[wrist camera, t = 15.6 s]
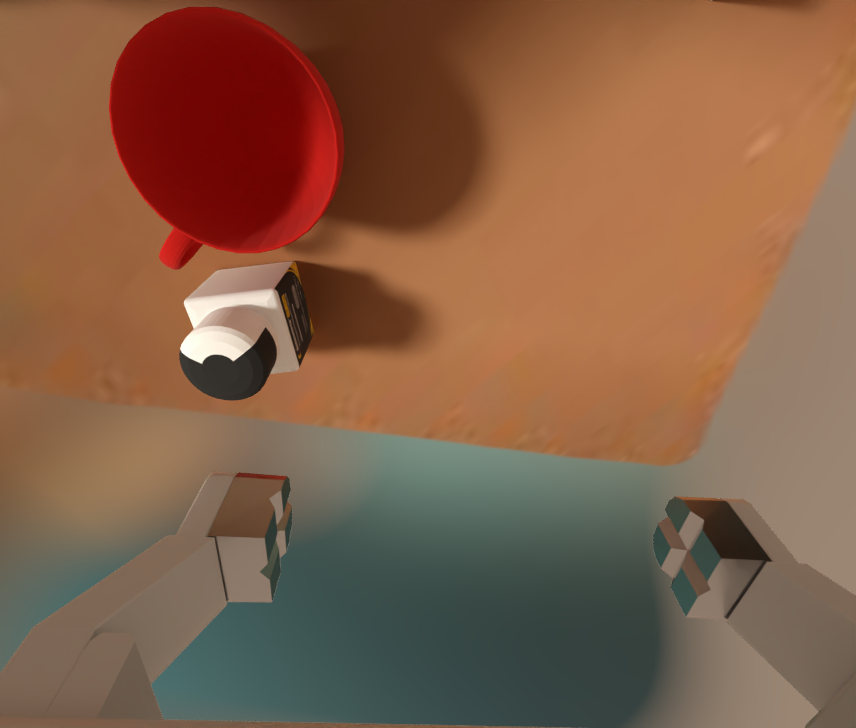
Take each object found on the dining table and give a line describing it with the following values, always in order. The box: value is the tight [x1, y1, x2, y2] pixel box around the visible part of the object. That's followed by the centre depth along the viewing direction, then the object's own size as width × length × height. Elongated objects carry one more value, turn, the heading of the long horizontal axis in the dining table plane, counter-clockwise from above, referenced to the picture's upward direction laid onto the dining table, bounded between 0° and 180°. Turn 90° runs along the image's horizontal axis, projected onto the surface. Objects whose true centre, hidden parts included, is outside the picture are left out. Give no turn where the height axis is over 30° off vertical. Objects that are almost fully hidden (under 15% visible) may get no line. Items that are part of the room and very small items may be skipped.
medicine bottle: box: [179, 261, 314, 400], centre depth 38 cm, size 7×7×12 cm
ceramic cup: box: [109, 7, 345, 270], centre depth 33 cm, size 13×17×10 cm
